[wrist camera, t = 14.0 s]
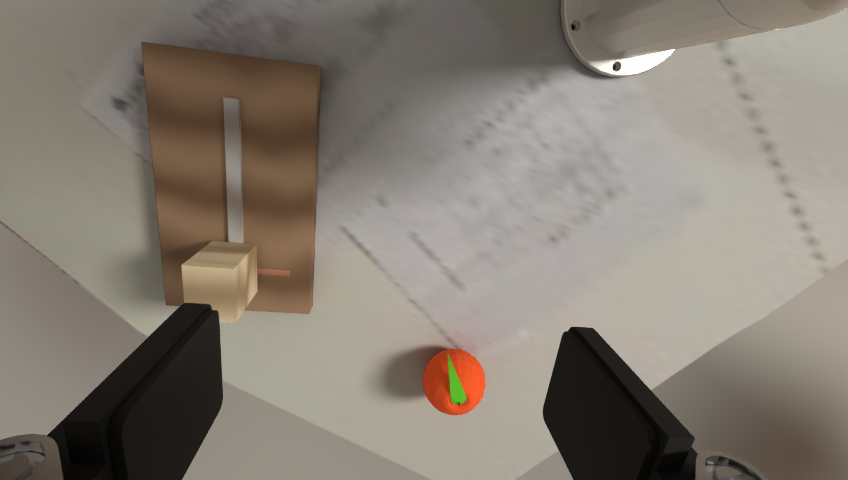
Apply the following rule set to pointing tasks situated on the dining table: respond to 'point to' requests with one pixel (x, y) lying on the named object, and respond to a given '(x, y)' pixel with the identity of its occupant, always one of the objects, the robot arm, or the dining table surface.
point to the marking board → (236, 165)
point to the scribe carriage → (222, 278)
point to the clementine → (454, 382)
